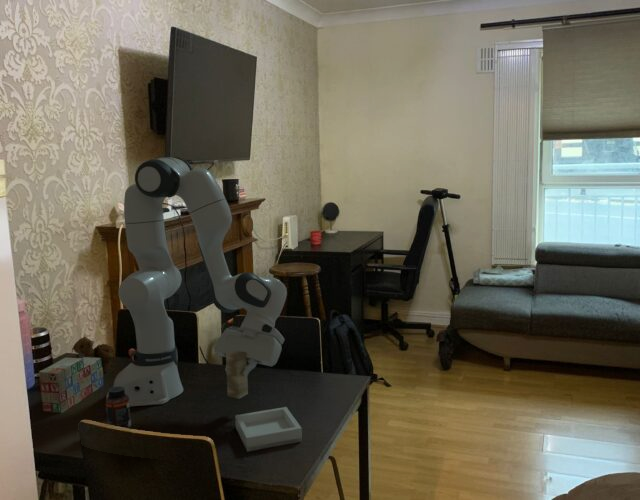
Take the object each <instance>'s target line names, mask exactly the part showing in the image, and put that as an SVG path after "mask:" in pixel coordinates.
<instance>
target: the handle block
mask: <svg viewBox="0 0 640 500" xmlns="http://www.w3.org/2000/svg"><path fill="white" fill-rule="evenodd" d="M246 354H247V353H246V352H241V351H236V350H235V351H232V352H230V353H228V354H226V357H225V363H226V364H225V368H227V372H226V385H227V386H226V389H227V397H230V398H235V399H242V398H243V397H245V396H246V395H248V394H249V384H248V381H249V380H248V376H247V377H246V376H242V375H241V374H240V372H241V371H242V368H245V367H246V366H247V365H248V361H247V358H246Z"/></svg>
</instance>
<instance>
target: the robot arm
mask: <svg viewBox="0 0 640 500" xmlns="http://www.w3.org/2000/svg"><path fill="white" fill-rule="evenodd" d="M134 182H135V183H134V184H132V185H130V186H128V187H127V189H126V190H125V192H124V199H123V218H124V227H125V235H126V245H127V248H128V251H129V252H130V253H131V254H132V255H133V256H134V259H135V260H136V262H137V263H136V264H137V265H138V266H137V267H138V270H137V271H134V272H132V273H131V274H129V275H128V276H127V277H126V278H125V279H123V281H122V282H121V283H120V284H119V286H118V290H117V291H118V298H119V300H120V303H121V304H122V306H124V307H125V308H127V309H128V311H129V313H130V315H131V318H132V321H133V325H134V329H135V330H134V331H135V339H136V349H135V348H129V350H128V355H129V357H130V363H129V364H128V365H127V366H126V367H124V368H123V369H122V370H121V371H120V372H118V374H117V375H116V376H115V379H114V381H113V386H112V388H113V387H119V386H120V387H124V390H125V394H126V395H128V397H129V403H130V407H139V406H152V405H153V406H154V405H164V404H165V403H167V402H169V401H170V400H171V399H174V398H176V397H179V395H181V394H182V393H183V392H184V386H183V384H182V381H181V379H180V374H179V369H178V359H179V358H178V348H177V345H176V342H175V328H174V322H173V320H172V318H171V317H170V316H169V315H168V313H167V310H166V307H165V300H167V299H168V298H171V297H172V296H173V295H175V293H176V292H177V291H178V290H179V289H180V286H181V285H182V274H181V271H180V270H179V268H178V267H176V265H174V262H173V259H172V257H171V253H170V251H169V247H168V243H167V235H166V229H165V220H164V219H165V217H164V211H163V207H164V206H163V205H164V201H165V200H166V199H168V198H170V199H171V198H173V197H175V196H177V197H180V199H181V200H182V201H183V202H184V204H185V206H186V209H187V211H188V214H189V216H190V218H191V220H192V223H193V226H194V229H195V233H196V240H197V244H198V250H199V252H200V255H201V258H202V261H203V264H204V266H205V267H204V268H205V270H206V273H207V276H208V279H209V283H210V294H211V296H210V297H211V300H212V303H213V305H214V306H215V307H216V309H218V310H219V311H221V312H223V313H228V314H229V313H234V312H236V311H238V310H241V309H244V310H246V314H245V315H244V316H245V317H244V319H243V321H242V323H241V325H240V326H236V325H235V326H234V325H231V326H229V327H227V328H225V329H224V331H223V332H222V333H221V335H220V337H219V338H218V339H217V341H216V342H215V344H214V347H213V349H214V352H215V353H216V355H219V356H220V357H224V358H226V354H228V353H230V352H232V351H235V350H236V351H241V352H246V353H247V354H246V358H247V366H246V367H245V368H242V371H241V372H240V374H241V375H242V376H246V377H247V378H248V376H249V373H250V372H251V371H252V370H253V369H255V368H256V366H257V365H258V364H260V365H263V366H266V367H267V366H268V367H273V366H275V365H277V362H278V360H279V358H280V357H281V352H282V350H283V349H282V345H283V344H284V342H285V337H284V336H283V335H282V334H281V333H280V331H279V330H278V329H277V328H276V327H275V325H276V321H277V319H278V317H280V315H281V313H282V310H283V308H284V306H285V303H286V300H287V295H288V291H287V290H288V289H287V287H286V285H285V283H283V282H282V281H281V280H280V279H278V278H276V277H274V276H273V277H271V276H269V277H263V276H259V275H257V274H255V273H253V272H248V271H246V272H242V273H238V274H236V275H234V276H232V275H231V272H230V269H229V267H228V264H227V261H226V258H225V255H224V251H223V242H224V239H225V237H226V234H227V233H228V232H229V230H230V228H231V225H232V222H233V217H232V211H231V208H230V205H229V204H228V203H229V202H228V201H227V198H226V197H225V195H224V192H223V191H222V189H221V186H220V184H219V183H218V181H217V180H216V179H215V177H214V175H213V173H212V172H211V171H209V170H208V169H206V168H193V167H192V165H191V164H190V163H189V162H188V161H187V160H185V159H182V158H180V157H169V156H167V157H166V156H165V157H160V158H159V157H158V158H153V159H151V158H150V159H148V160H146V161H144V162H141V164H139V166H138V167H137V169H136V171H135V174H134ZM224 371H225V372H226V373H227V368H226V367H225V368H224ZM108 396H109V391H108V392H107V393H106V399H107V398H108ZM106 399H105V400H106Z"/></svg>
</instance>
